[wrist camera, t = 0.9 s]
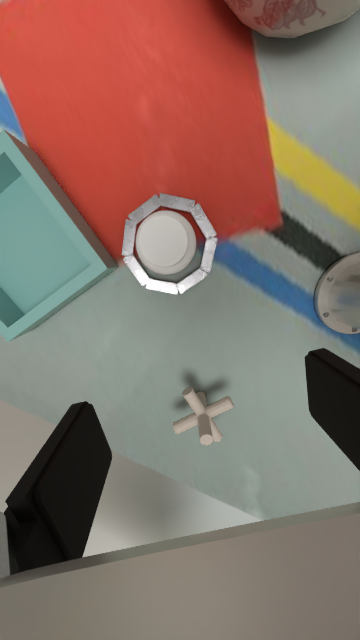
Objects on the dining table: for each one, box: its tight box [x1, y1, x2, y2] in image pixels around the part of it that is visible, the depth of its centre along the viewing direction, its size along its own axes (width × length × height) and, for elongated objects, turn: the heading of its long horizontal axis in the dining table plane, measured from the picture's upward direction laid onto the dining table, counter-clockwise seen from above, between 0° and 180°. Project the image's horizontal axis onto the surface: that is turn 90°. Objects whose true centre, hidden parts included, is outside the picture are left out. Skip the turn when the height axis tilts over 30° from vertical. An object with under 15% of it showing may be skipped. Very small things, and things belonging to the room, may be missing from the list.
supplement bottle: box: [136, 210, 196, 275], centre depth 27 cm, size 7×7×13 cm
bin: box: [0, 130, 119, 342], centre depth 30 cm, size 18×18×6 cm
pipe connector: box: [173, 387, 234, 445], centre depth 35 cm, size 10×10×10 cm
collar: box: [122, 193, 218, 294], centre depth 32 cm, size 13×13×2 cm
